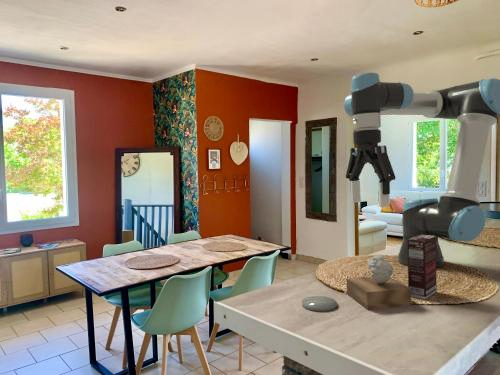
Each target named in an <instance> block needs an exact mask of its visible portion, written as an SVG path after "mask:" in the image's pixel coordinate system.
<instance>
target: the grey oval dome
mask: <svg viewBox="0 0 500 375" xmlns="http://www.w3.org/2000/svg"><path fill="white" fill-rule="evenodd" d="M301 306H302V308H304V309H306V310H308V311H312V312H323V313H324V312H330V311H333V310H335V309H336V308H338V307H337V306H338V302H337V300H335V298H332V297H328V296H324V295H313V296H307V297H304V298H303V299H302V300H301Z"/></svg>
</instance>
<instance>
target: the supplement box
mask: <svg viewBox="0 0 500 375" xmlns="http://www.w3.org/2000/svg"><path fill="white" fill-rule="evenodd" d="M407 240H408V266H407V271H408V272H407V279H408V280H407V284H408V285H407V286H408V287H410V288H411V298H416V299H420V300H427V299H428V298H430V297H431V296H433V295H434V294H435V293H437V290H438V288H437V267H436V236H431V235H418V236H415V237H412V238H410V239H407Z"/></svg>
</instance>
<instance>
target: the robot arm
mask: <svg viewBox="0 0 500 375" xmlns="http://www.w3.org/2000/svg"><path fill="white" fill-rule="evenodd" d="M379 76H380V75H379V74H378V73H377V72H362V73H359V74H355V75H353V77H352V79H351V90H350V94H348V95H347V96H346V97H345V99H344V102H343V107H344V108H343V109H344V111H345V112H346V114H347V115H348V116H350V117H352V128H353V130H355V131H353V133H352V134H353V135H352V137H353V139H352V140H353V144H354V145H356V147H350V151H349V152H350V156H349V161H348V165H347V169H346V172H345V173H346V174H345V178H346V179H348V181H350V192H351V193H350V197H351V203H361V202H362V201H361V197H362V196H361V180H360V176H361V174H362V172H363V169H364V167H365V165H366V164H369V165H371V166H372V168H373V170H374V172H375V173H376V175H377V177H378V180H379V181H378V205H379V207H380V208H384V207H385V208H386V207H390V206H391V205H390V203H391V202H390V193H391V182H392V181H395V180H396V175H395V172H394V169H393V166H392V164H391V161H390V157H389V155H388V151H387V145H379V144H380V143H381V142H382V131H381V129H379V128H381V127H382V125H381V124H382V123H381V120H382V119H381V115H382V116H383V115H390V116H391V115H392V116H400V115H401V116H423V117H425V118H428V119H443V120H444V119H445V120H457V121H458V123H459V124H460V126H459V130H458V136H457V140H456V145H455V149H454V150H455V151H454V154H453V159H452V165H451V168H450V174H449V178H448V183H447V188H446V191H445V192H444V193H443V194H441V195H440V197H439V199H438V198H435V197H434V198H422V199H409V200H405V201H404V202H403V203H402V212H401V213H402V242H401V246H400V248H399V253H398V254H397V261H398V263H399V264H401V265H405V266H407V267H408V240H407V239H410V238H412V237H415V236H418V235H431V236H436V268H439V267H443V266H444V265H445V258H444V255H443V252H442V250H441V246H440V243H439V238H442V239H447V240H451V241H455V242H465V243H466V242H467V243H469V242H471V241H474V240H475V239H477V238H478V237H479V236H480V235H481V234H482V233H483V231H484V229H485V226H486V225H485V224H486V216H485V215H486V214H485V211H484V209H483V208H482V207H480V206H481V202H480V201H479V198H477V192H478V189H479V188H478V187H479V184H480V183H479V182H480V177H481V174H482V173H481V172H482V168H483V163H484V159H485V158H484V157H485V154H486V148H487V143H488V139H489V134H490V129H491V127H492V126H493V125H495V124H496V123H497V120H498V115H500V79H498V78H494V77H493V78H487V79H484V78H483V79H480V80H477V81H473V82H469V83H465V84H459V85H455V86H450V87H447V88H442V89H439V90H433V89H432V90H428V91H426V92H414V89H413V87H412V86H411V85H410V84H408V83H403V82H401V81H400V82H389V81H388V82H386V81H385V82H384V81H381V79H380V77H379Z"/></svg>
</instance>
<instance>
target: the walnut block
mask: <svg viewBox="0 0 500 375" xmlns="http://www.w3.org/2000/svg"><path fill="white" fill-rule="evenodd" d="M346 295H347V296H348V297H350V298H351V299H352V300H353V301H355V302H356V303H358V304H359V305H361V306H362V307H363V308H364V309H365V310H367V311H372V310H380V309H389V308H398V307H399V308H400V307H410V306H412V297H411V288H410V287H408V285H405V284H404V283H402V282H400V281H398V280H396V279H394V278H392V277H390V279H389V280H388V281H387V282H385V283H378V282H376V281H374V280H373V278H372V276H371V275H370V276H364V277H363V276H360V277H352V278H351V277H350V278H346Z"/></svg>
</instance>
